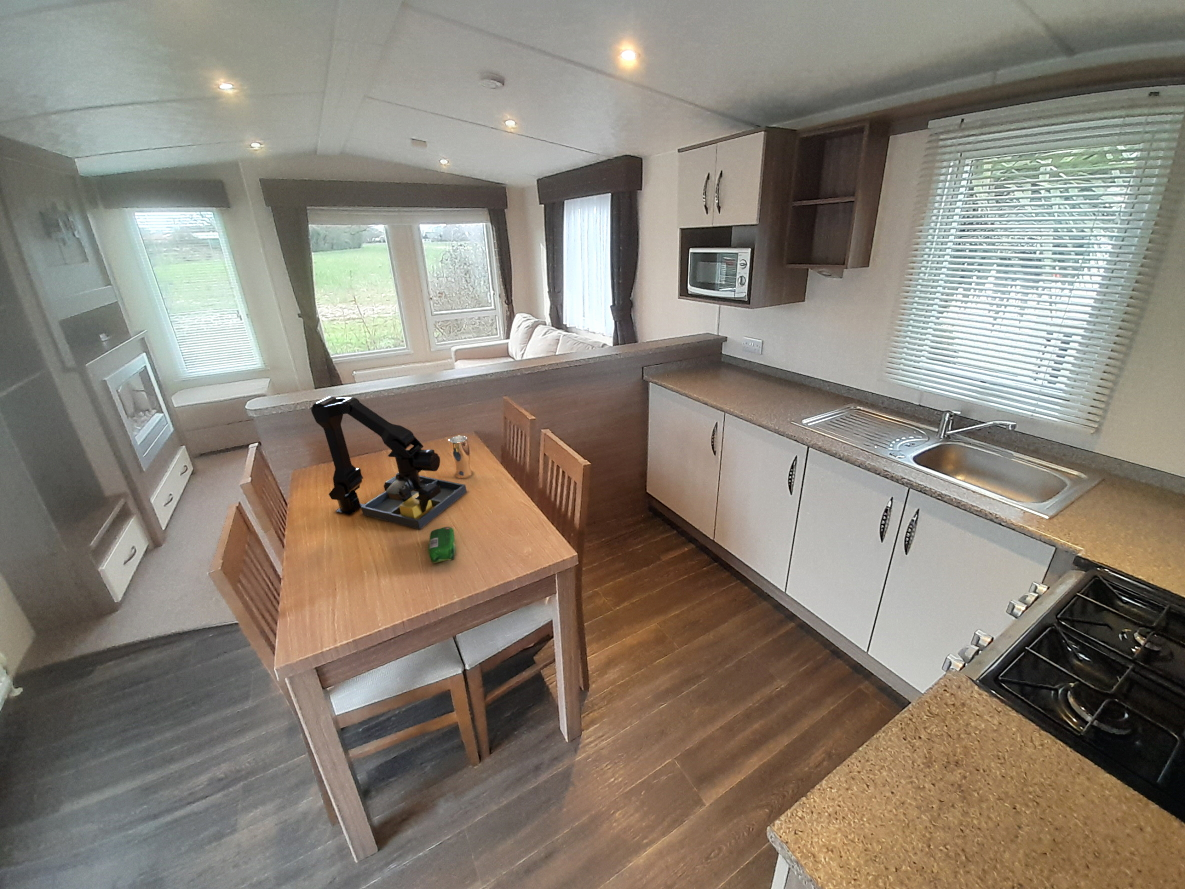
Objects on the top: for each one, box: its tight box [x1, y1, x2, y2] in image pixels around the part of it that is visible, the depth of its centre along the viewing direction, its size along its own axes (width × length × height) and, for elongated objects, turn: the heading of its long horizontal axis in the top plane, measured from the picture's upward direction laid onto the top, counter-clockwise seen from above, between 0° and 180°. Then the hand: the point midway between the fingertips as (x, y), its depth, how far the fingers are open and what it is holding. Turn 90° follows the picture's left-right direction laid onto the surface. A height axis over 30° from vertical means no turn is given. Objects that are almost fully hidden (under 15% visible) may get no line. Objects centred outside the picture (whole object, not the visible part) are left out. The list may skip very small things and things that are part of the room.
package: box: [399, 493, 432, 519], centre depth 157 cm, size 6×8×5 cm, turn 157°
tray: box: [360, 474, 468, 530], centre depth 164 cm, size 24×24×3 cm
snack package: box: [428, 526, 456, 564], centre depth 138 cm, size 7×16×5 cm, turn 15°
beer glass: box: [448, 435, 473, 479], centre depth 180 cm, size 7×7×15 cm
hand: (416, 510), depth 157 cm, fingers closed on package, 5 cm apart
